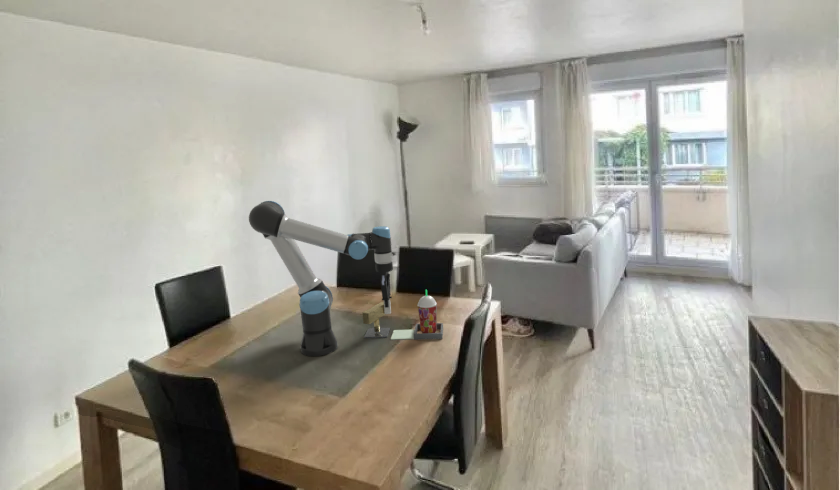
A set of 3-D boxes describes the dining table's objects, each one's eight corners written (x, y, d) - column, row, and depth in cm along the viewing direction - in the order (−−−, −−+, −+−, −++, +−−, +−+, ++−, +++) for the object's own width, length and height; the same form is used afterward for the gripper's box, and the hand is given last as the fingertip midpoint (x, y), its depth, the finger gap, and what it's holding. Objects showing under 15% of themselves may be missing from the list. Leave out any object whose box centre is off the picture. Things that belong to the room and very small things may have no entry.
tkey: (370, 337, 212) (368, 313, 210) (364, 336, 214) (362, 312, 212) (389, 325, 225) (387, 302, 223) (383, 324, 227) (381, 301, 224)
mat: (390, 339, 212) (390, 338, 212) (393, 330, 221) (393, 330, 221) (414, 339, 211) (414, 338, 211) (416, 330, 221) (416, 329, 220)
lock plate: (364, 338, 215) (364, 336, 215) (368, 329, 225) (368, 328, 225) (387, 337, 214) (386, 336, 214) (390, 328, 224) (390, 327, 224)
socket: (414, 339, 210) (413, 334, 210) (416, 329, 222) (416, 323, 222) (442, 338, 209) (442, 333, 209) (443, 328, 221) (443, 322, 220)
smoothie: (439, 330, 219) (436, 286, 215) (438, 337, 211) (435, 292, 207) (420, 330, 220) (417, 287, 216) (418, 337, 212) (415, 293, 208)
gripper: (390, 265, 210) (394, 318, 214) (394, 258, 222) (398, 308, 227) (372, 266, 210) (377, 318, 215) (377, 258, 223) (381, 308, 228)
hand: (387, 313), depth 221 cm, fingers closed
